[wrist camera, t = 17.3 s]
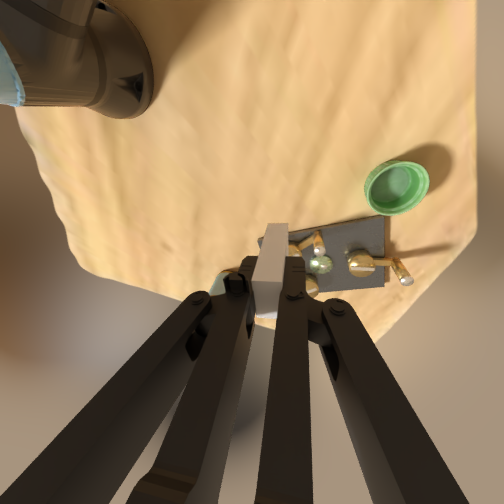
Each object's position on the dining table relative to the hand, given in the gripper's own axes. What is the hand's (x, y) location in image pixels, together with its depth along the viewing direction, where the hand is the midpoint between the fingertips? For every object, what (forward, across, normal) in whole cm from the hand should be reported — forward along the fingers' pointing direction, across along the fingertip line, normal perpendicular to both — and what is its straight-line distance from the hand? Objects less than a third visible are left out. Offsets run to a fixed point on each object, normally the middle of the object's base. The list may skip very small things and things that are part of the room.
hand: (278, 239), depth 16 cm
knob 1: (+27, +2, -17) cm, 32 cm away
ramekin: (+29, +17, -4) cm, 34 cm away
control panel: (+28, +7, -22) cm, 37 cm away
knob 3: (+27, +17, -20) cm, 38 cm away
